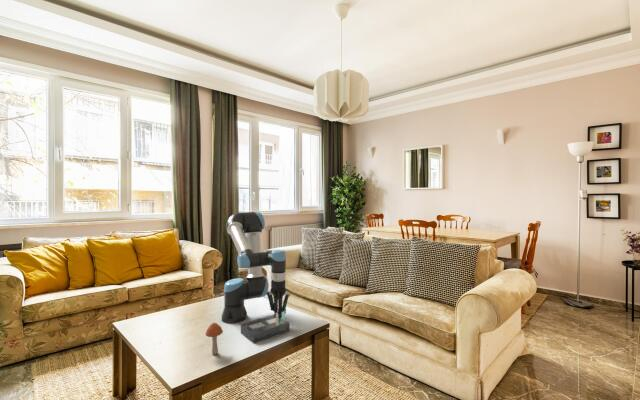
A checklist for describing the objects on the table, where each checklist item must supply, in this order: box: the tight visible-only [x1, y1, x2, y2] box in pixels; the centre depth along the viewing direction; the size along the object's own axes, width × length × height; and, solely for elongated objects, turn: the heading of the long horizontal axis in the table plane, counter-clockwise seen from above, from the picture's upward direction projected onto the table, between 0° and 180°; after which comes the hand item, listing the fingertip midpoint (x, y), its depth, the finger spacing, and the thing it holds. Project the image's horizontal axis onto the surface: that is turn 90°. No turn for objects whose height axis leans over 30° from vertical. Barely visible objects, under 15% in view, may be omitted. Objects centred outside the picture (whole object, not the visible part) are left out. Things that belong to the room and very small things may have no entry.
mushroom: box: [205, 322, 224, 355], centre depth 155 cm, size 8×8×15 cm
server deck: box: [240, 314, 291, 344], centre depth 179 cm, size 15×23×8 cm, turn 128°
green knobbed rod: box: [279, 309, 287, 330], centre depth 175 cm, size 24×4×3 cm, turn 7°
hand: (277, 324), depth 172 cm, fingers closed
